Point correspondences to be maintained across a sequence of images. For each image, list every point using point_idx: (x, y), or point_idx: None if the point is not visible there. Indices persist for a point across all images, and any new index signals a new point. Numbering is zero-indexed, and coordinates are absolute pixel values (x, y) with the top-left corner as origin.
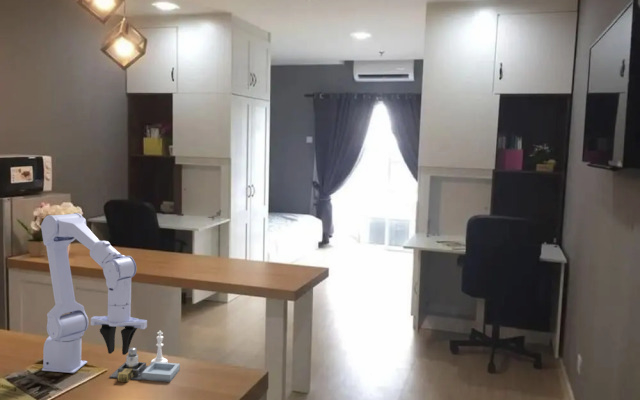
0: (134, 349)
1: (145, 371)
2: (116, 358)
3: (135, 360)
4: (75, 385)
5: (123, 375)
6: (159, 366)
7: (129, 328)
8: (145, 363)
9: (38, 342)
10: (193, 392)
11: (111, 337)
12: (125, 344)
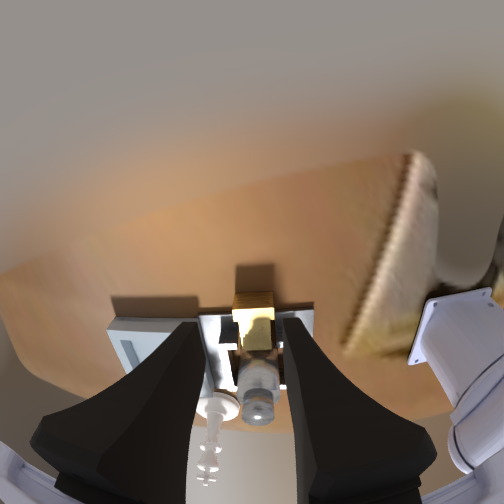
0: (246, 415)
1: None
2: None
3: (240, 380)
4: (398, 226)
5: (251, 305)
6: None
7: (87, 487)
8: (227, 387)
9: None
10: (39, 268)
11: (298, 423)
12: (142, 365)
